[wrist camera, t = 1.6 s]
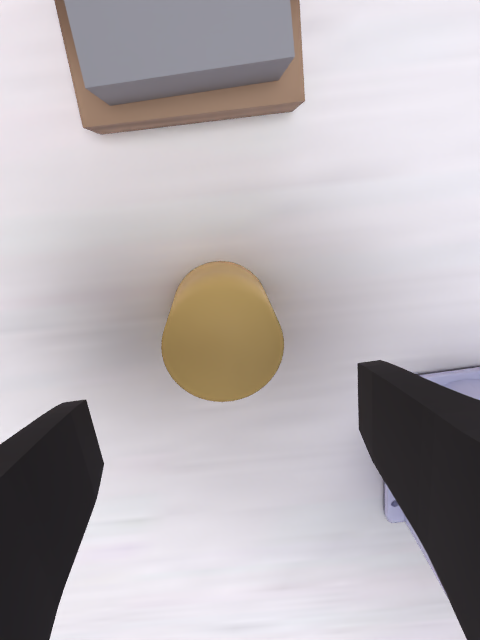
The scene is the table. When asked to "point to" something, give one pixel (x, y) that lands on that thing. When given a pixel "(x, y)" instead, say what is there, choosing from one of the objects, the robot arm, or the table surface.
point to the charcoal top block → (178, 45)
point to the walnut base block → (188, 106)
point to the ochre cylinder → (221, 334)
